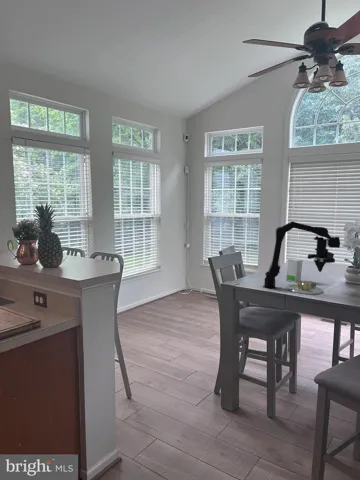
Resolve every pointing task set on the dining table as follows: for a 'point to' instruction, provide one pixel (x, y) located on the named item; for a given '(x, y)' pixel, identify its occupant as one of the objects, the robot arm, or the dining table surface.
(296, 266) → the skincare box
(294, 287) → the clear glass plate
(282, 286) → the dining table surface
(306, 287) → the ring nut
